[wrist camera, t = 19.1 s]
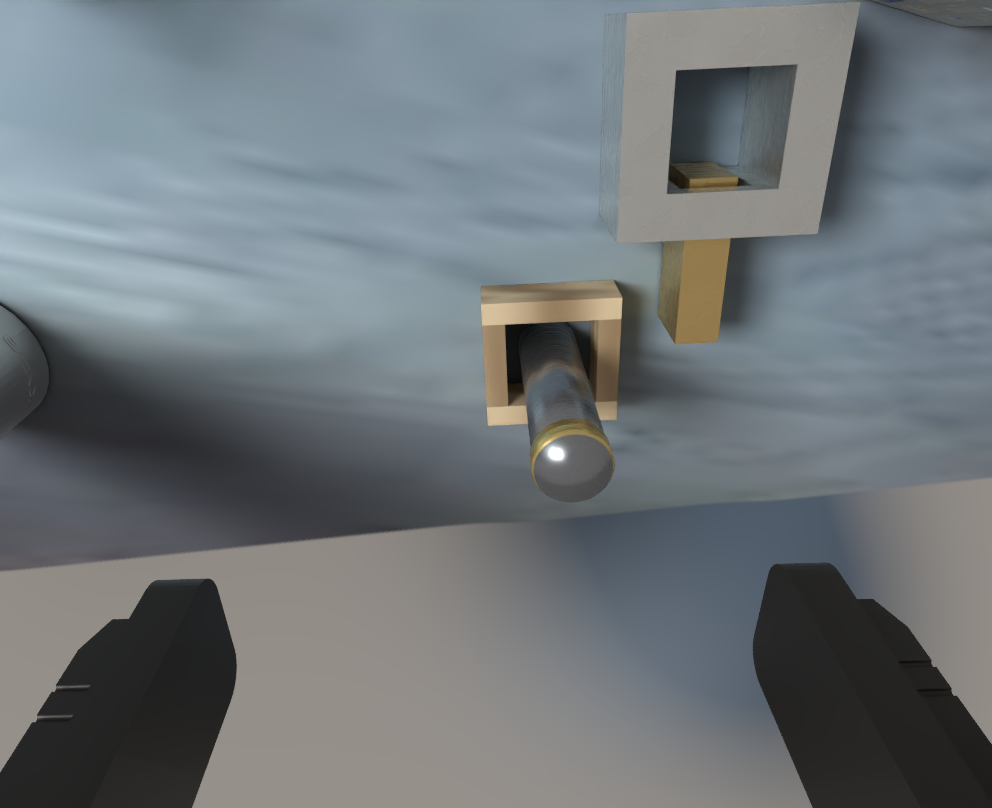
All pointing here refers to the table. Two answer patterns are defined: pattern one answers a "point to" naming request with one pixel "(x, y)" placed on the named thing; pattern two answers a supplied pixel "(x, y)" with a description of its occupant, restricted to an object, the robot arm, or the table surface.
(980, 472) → the table surface
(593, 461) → the grey metal cylinder
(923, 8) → the hard drive box
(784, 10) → the socket block
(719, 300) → the bar
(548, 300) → the wooden square frame
